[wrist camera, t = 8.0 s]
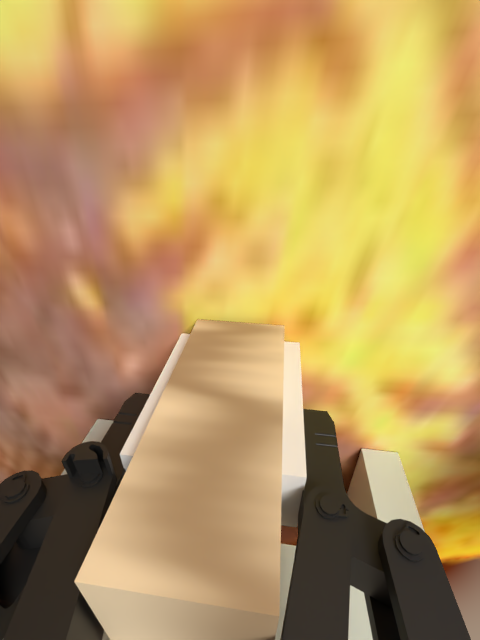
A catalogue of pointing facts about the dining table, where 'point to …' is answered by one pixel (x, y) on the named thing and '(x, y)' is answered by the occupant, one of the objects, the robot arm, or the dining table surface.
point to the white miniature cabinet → (366, 494)
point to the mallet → (200, 500)
